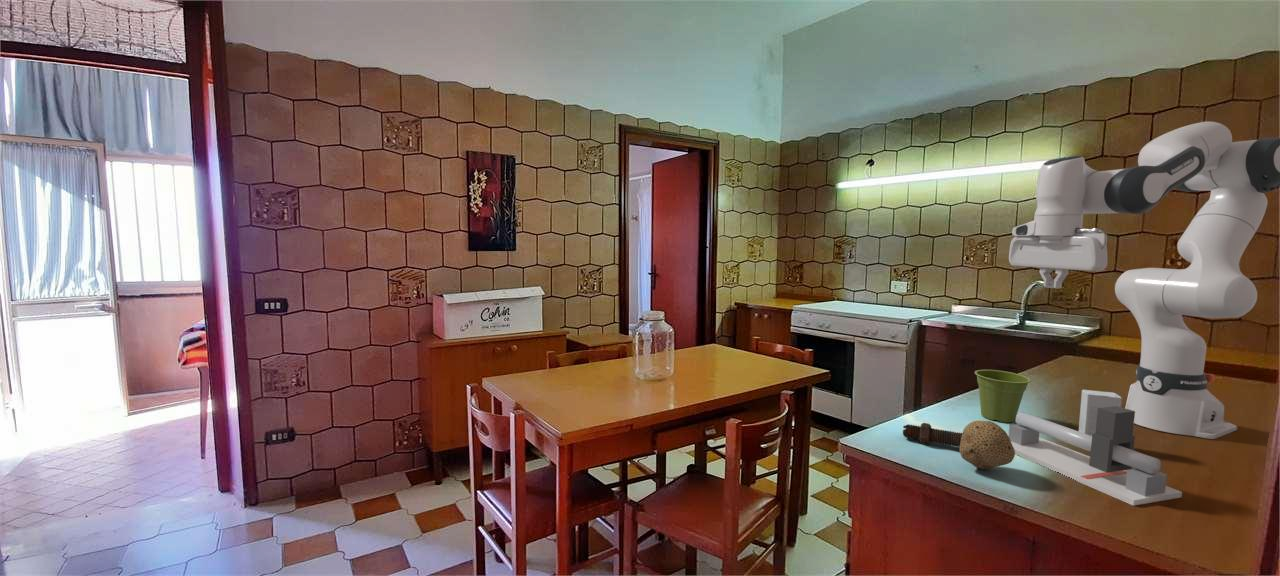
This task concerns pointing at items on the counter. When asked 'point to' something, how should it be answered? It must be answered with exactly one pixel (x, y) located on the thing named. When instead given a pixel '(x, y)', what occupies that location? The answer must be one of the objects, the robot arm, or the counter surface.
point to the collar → (1111, 437)
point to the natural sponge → (986, 445)
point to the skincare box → (1095, 408)
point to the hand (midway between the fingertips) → (1052, 288)
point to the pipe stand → (1122, 485)
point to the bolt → (932, 435)
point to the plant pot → (1000, 394)
